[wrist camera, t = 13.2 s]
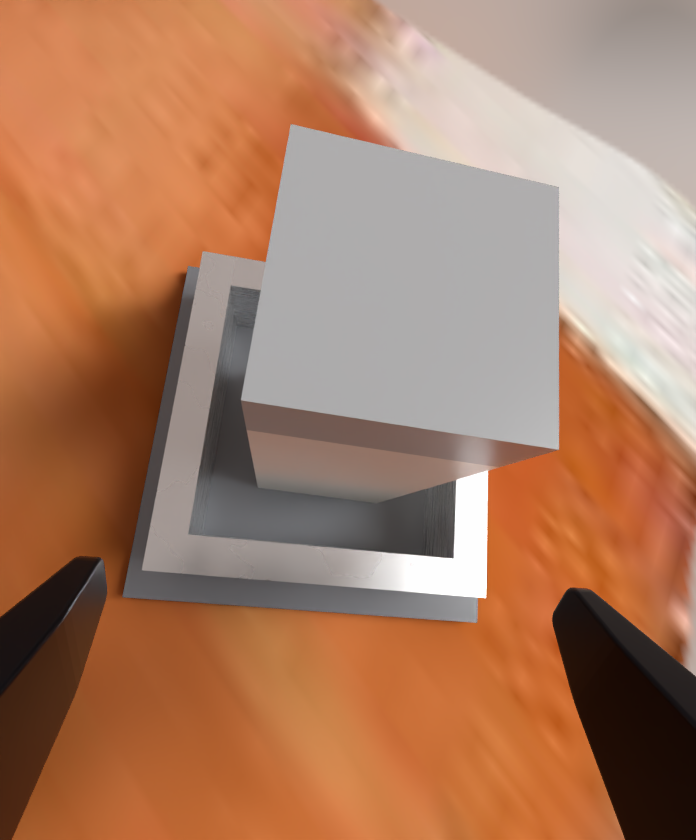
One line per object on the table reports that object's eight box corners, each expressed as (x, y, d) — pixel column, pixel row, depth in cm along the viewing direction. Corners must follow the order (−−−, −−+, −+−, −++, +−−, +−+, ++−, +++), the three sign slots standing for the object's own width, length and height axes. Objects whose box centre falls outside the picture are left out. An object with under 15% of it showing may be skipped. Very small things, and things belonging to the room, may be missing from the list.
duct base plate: (471, 620, 20) (477, 622, 19) (126, 595, 18) (122, 597, 18) (477, 320, 24) (483, 315, 23) (190, 273, 22) (188, 266, 21)
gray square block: (376, 503, 20) (559, 449, 7) (257, 487, 19) (240, 399, 7) (387, 391, 21) (558, 187, 9) (276, 373, 21) (291, 124, 8)
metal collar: (448, 587, 20) (485, 597, 16) (165, 564, 18) (141, 570, 15) (456, 335, 22) (490, 300, 19) (213, 296, 21) (202, 251, 18)
